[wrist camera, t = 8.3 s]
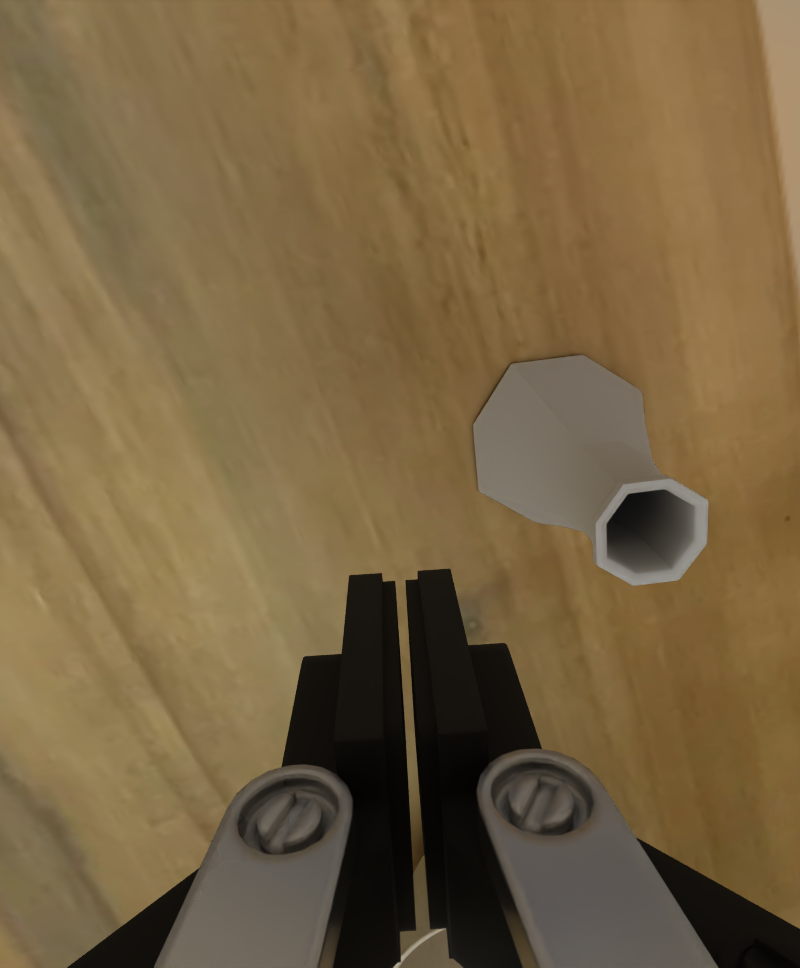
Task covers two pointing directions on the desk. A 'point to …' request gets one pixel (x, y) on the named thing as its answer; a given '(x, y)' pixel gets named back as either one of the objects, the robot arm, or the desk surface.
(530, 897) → the robot arm
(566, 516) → the flask
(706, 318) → the desk surface
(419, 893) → the bowl
